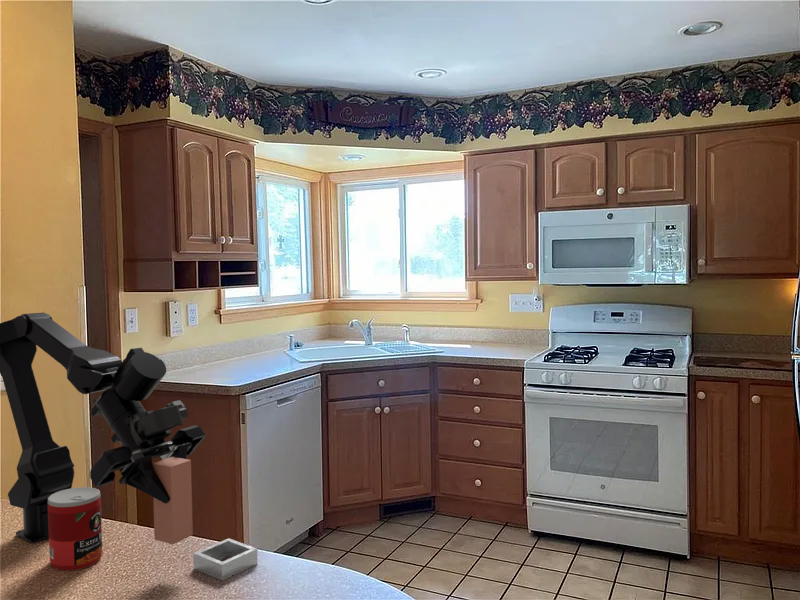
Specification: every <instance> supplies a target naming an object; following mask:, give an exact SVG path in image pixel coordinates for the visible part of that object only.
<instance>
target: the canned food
mask: <svg viewBox="0 0 800 600" xmlns="http://www.w3.org/2000/svg"><path fill="white" fill-rule="evenodd" d="M101 498H102V497H101V491H100V489H97V488H95V487H88V486H83V487H82V486H81V487H73V488H72V487H71V489H66V490H62V491H59V492H56V493H54V494H52V495H50V496H49V497H48V530H49V538H48V545H49V547H48V548H49V551H48V553H49V562H50V564H51V566H52V568H53V569H55V570H58V571H75V570H81V569H82V570H83V569H84V568H85V569H86V568H88V567H91V566H93V565H94V564H96V563H98V562H99V561H100V559H101V558H102V554H103V530H102V501H101V500H102V499H101Z"/></svg>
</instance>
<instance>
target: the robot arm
mask: <svg viewBox="0 0 800 600" xmlns="http://www.w3.org/2000/svg"><path fill="white" fill-rule="evenodd" d="M37 347H38V348H39V349H41V350H42V351H43V352H45V354H47V355H48V356H49V357H50V358H52V359H54V360H55V361H56V363H59V365H61V366H62V367H64V369H65V370H66V379H67V380H68V382H70V384H71V385H72V386H73V387H74V388H75V389H76V391H78V392H79V393H80V394H82V395H89V394H94V393H99V392H102V393H101V394H100V396H99V398H95V399H93V405H92V407H91V410H90V411H91V412H90V414H91V416H92V417H95V416H100V415H102V416H103V418H104V419H105V421H106V422H107V424H108V425H109V427H110V429H111V430H112V432H113V434H112V436H111V437H110V439H111V441H112V443H113V444H115V443H120V444H121V446H118V447H115V448H111V449H108V450H104V451H103V453H101V455H100V456H99V457H98V459H97V461H96V462H95V463H94V464H93V466H92V467H91V468H90V470H89V476H90V480H91V481H92V483H93V485H94V486H95V487H96V488H100V487H103V486H106V485H108V484H112V483H113V482H114V481H115V477H116V473H115V472H116V471H119V472H120V474H121V476H122V477H120V479H119V480H118V483H119V485H124V484H126V485H127V486H130V487H132V488H135V489H137V490H139V491H141V492H143V493H145V494H147V495H149V496H151V497H154V498H156V499H158V500H160V501H161V502H163V503H168V502H169V501H170V497H169V495H168V493H167V491H166V489H165V487H164V486H163V484H162V482H161V481H160V479H159V478H158V476H157V474H156V473H155V471H154V469H153V465H152V463H153V459H156V458H159V457H160V458H161V460H164V459H167V458H170V457H177V458H183V459H187V458H188V457H189V456H190V455H192V454H193V453H194V451H195V450H196V449H197V448H198V446H199V445H200V444H202V443H201V442H203V440H204V439H205V438H206V437H207V436H206V434H205V432H204V431H203V429H202V428H201V426H198V425H191V426H187V427H184V428H181V429H179V430H177V432H175V434H174V435H173V436H172V437H171V439H170V440H168V441H166V440H165V439H166V438H168V437H169V436H170V435H171V434H172V431H171V429H173V428H175V427H177V426H183V425H184V424H185V422H184V420H185V419H187V418H189V417H188V416H189V413H188V410H187V407H186V405H185V404H184V403H183V402H182V401H181V399H179V400H175V401H171V402H170V403H168V404H166V407H163V408H158V409H156V410H153V409H150V410H146V408H145V407H144V406H143V405H142V403H141V401H142V402H143V401H145V400H147V399H148V398H149V397H150V396H151V394H152V392H153V391H154V390H155V388H156V387H157V386H158V385H159V384H160V382H161V381H162V379H163V378H164V377H165V375H166V374H167V366H166V364H165V362H164V361H163V360H162V359H161V358H159V357H157V356H156V355H154V354H152V353H150V352H146V351H144V349H143V348H142V347H133V348H130V349H129V351H128V353H126V356H125V358H124V359H123V361H122V359H121V358H120V357H119V356H118V355H115V354H114V353H112V352H111V353H110V351H109V352H108V351H107V350H103V349H99V348H95V347H90V346H88V345H86V344H85V343H84V342H82V340H80V339H79V338H77V337H76V336H75V335H73V334H72V333H71V332H69V331H68V330H66V329H65V328H64V327H62V326H61V325H60V324H58V323H57V322H56V321H54V319H53V317H52V316H51V315H50V314H49V313H46V312H33V313H22V314H21V315H17V316H16V317H14V318H12V319H9V320H5V321H3V322H0V374H1V377H2V381H3V385H4V388H5V393H6V395H7V400H8V403H9V406H10V407H9V408H10V411H11V414H12V417H13V420H14V421H13V422H14V424H15V427H16V428H15V429H16V431H17V435H18V439H19V442H20V446H21V453H20V457H19V460H18V463H17V466H16V472H17V479H16V481H15V482H14V484H13V485H12V487H11V489H10V490H9V491H8V493H7V497H8V501H9V505H10V506H13V507H17V508H19V509H22V519H23V529H21V530H17V531H16V532H15V536H17V537H19V538H21V539H23V540H26V541H28V542H29V543H36V542H39V541H42V540H45V539H46V540H47V539H49V530H48V497H49V496H50V495H52V494H54V493H56V492H59V491H62V490H66V489H71V488H72V487H73V482H74V478H75V470H74V468H75V464H74V463H73V459H71V452H70V449H69V448H68V446H67V445H63V446H60V445H59V444H58V443H57V442H55V441H54V439H53V436H52V433H51V429H50V425H49V423H48V418H47V415H46V412H45V409H44V408H45V407H44V405H43V401H42V397H41V394H40V391H39V388H38V387H39V386H38V384H37V380H36V376H35V373H34V369H33V362H34V360H35V356H36V354H37V351H38V348H37ZM95 487H94V488H95Z"/></svg>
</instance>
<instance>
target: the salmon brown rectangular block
mask: <svg viewBox="0 0 800 600" xmlns="http://www.w3.org/2000/svg"><path fill="white" fill-rule="evenodd" d="M152 465H153V469H154V471H155V473H156V474H157V476H158V478H159V479H160V481H161V482H162V484H163V486H164V487H165V489H166V491H167V493H168V495H169V497H170V501H169V502H168V503H163V502H161V501H160V500H158V499H156V498H154V497H153V526H154V527H153V528H154V529H153V530H154V531H153V534H154V540H155V541H159V542H161V543H167V544H169V545H175V544H177V543H180V542H182V541H183V540H185V539H187V538H189V537H192V536H193V534H194V532H193V530H194V529H193V525H194V524H193V493H192V492H193V487H192V459H188V458H186V459H183V458H177V457H170V458H167V459H164V460H163V459H161V460H159V461H156V462H152Z"/></svg>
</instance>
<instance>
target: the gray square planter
mask: <svg viewBox="0 0 800 600" xmlns="http://www.w3.org/2000/svg"><path fill="white" fill-rule="evenodd" d="M192 554H193V556H192V557H193V569H194V570H195V571H199V572H201V573H202V574H205V575H208V576H210V577H213V578H215V579H217V580H219V579H220V581H221V580H223V581H224V579H225V580H227V579H229V578H232V577H233V576H232V575H234V576H235V574H236V575H237V574H240V573H241V572H244V571H246V570H248V569H251V568H252V567H254V566H256V565H258V548H257V547H254V546H251V545H248V544H245V543H242V542H241V541H237V540H235V539H232V538H226V539H224V540H221V541H219V542H216V543H215V544H212V545H210V546H207V547H204V548H203V549H201V550H198V551H195V552H193V553H192ZM227 557H229V558H228V559H226V560H224V561H221V560H222V559H225V558H227ZM228 577H229V578H228ZM226 578H227V579H226Z"/></svg>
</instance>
